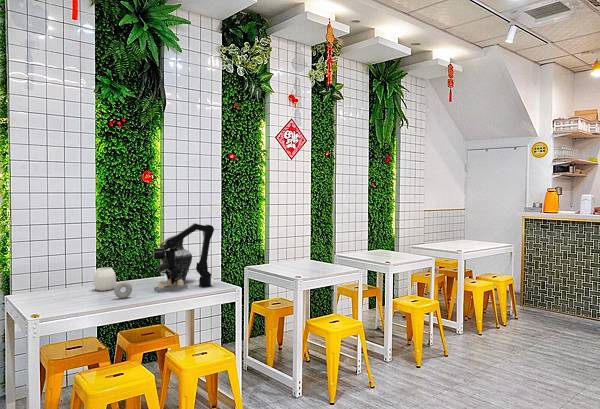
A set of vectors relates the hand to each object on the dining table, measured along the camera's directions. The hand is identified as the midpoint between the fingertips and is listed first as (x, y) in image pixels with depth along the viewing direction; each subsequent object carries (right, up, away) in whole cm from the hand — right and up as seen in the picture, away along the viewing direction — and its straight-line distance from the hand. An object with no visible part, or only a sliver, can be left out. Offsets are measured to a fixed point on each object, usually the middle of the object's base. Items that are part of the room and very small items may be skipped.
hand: (171, 283), depth 303 cm
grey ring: (-21, -5, -23) cm, 32 cm away
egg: (0, -2, 0) cm, 2 cm away
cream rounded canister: (-42, -4, +2) cm, 42 cm away
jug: (-2, -3, +23) cm, 23 cm away
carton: (0, -4, 0) cm, 4 cm away
